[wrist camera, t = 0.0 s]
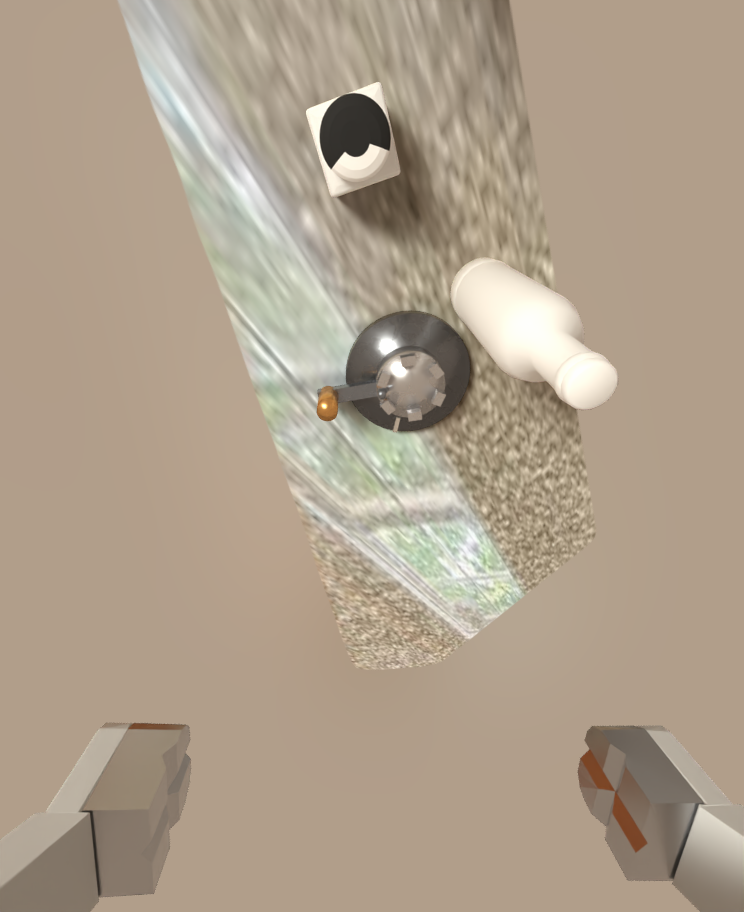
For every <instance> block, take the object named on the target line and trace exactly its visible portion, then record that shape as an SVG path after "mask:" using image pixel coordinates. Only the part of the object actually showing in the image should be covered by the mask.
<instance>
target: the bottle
mask: <svg viewBox="0 0 744 912" xmlns="http://www.w3.org/2000/svg"><path fill="white" fill-rule="evenodd" d="M450 297H451V302H452V306H453V308H454V310H455V311H456V313H457V315H458V316H459V318H460V319H461V320H462V321H463V322H464V323H465V324H466V326H467V327H468V328H469V329H470V331H471V332H472V333H473V334H474V336H475V337H476V338H477V340H478V341H479V342H480V343H481V345H482V346H483V347H484V348H485V350H486V351H487V352H488V354H489V355H490V356H491V357H492V359H493V360H494V361H495V363H496V364H497V365H498V366H499V368H500V369H501V370H502V371H504V372H505V373H507V374H508V375H509V376H511V377H513V378H516V379H520V380H525V381H529V382H543V381H547V382H548V383H549V384H550V385H551V386H552V388H553V389H554V390H555V392H556V393H557V395H558V397H559V398H560V399H561V400H562V401H564V402H565V403H567V404H569V405H570V406H572V407H573V408H575V409H579V410H589V409H593V408H595V407H598V406H600V405H602V404H603V403H605V402H606V401H607V400H609V398H610V397H611V395H613V393H614V392H615V390H616V387H617V385H618V373H617V371H616V369H615V367H613V366H612V365H611V363H610V361H609V360H607V358H605V357H604V356H603V355H602V354H599V353H596V352H593V351H592V350H590V349H589V348H587V347H586V346H585V345H583V344H584V328H583V324H582V321H581V319H580V316H579V314H578V312H577V310H576V307H575V306H574V305H573V304H572V303H571V302H570V301H568V300H567V299H566V298H565V297H563V296H561V295H560V294H558V293H556V292H554V291H553V290H551V289H549V288H547V287H545V286H544V285H542V284H540V283H538V282H536V281H535V280H533V279H531V278H529V277H527V276H526V275H524V274H522V273H520V272H518V271H517V270H515V269H513V268H511V267H509V266H508V265H507V264H506V263H504V262H502V261H499V260H496V259H492V258H489V257H485V258H477V259H475V260H473V261H471V262H469V263H467V264H465V265H464V266H463V267H462V268H461V269H460V270H459V271H458V272H457V274H456V276H455V278H454V280H453V282H452V286H451V292H450Z"/></svg>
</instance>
